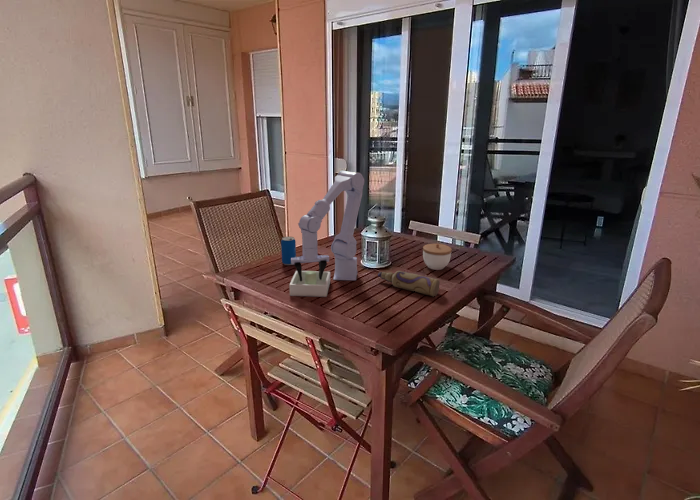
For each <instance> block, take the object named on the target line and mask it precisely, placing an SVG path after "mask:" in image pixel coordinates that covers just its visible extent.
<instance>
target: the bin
mask: <svg viewBox="0 0 700 500" xmlns="http://www.w3.org/2000/svg"><path fill="white" fill-rule="evenodd" d="M307 271H308V270H302V281H300V278H299V274H298V271H297V270H295V271H294V274H293V276H292V277H291V280H290V283H289V296H290V297H313V298H314V297H316V298H317V297H320V298H327V296H328V293H329V288H330V285H331V271H324V272H323V275H322V280H320V279H319V270H318V271H315V270H314V271H315V272H316V285H313V284H305V272H307Z"/></svg>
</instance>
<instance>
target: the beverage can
mask: <svg viewBox="0 0 700 500" xmlns="http://www.w3.org/2000/svg"><path fill="white" fill-rule="evenodd" d="M296 242H297V241H296V239H295V237H294V236H283V237H281V240H280V248H281V262H282V264H283V265H285V266H292V265H294V264H291V258H295V257H297V247H296V245H297V243H296Z"/></svg>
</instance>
